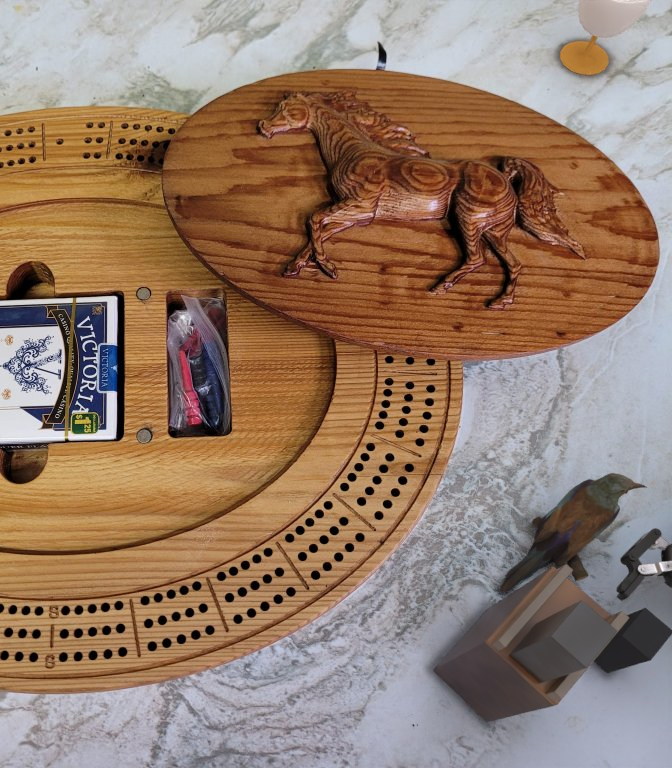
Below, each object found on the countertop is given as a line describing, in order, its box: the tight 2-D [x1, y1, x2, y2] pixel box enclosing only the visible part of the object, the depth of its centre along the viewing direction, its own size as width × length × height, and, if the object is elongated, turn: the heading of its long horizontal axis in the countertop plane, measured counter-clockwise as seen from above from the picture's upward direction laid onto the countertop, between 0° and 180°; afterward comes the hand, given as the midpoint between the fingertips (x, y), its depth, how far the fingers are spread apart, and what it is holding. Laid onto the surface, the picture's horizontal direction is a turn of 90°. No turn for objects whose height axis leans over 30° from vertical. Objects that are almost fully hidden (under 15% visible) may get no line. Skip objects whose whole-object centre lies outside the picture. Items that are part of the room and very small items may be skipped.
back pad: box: [593, 607, 672, 674], centre depth 106 cm, size 4×5×12 cm
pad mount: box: [485, 563, 629, 707], centre depth 85 cm, size 9×12×13 cm
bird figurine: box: [498, 472, 648, 594], centre depth 112 cm, size 13×10×20 cm
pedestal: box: [432, 568, 554, 723], centre depth 101 cm, size 9×12×23 cm
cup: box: [559, 0, 653, 76], centre depth 152 cm, size 12×12×17 cm
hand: (651, 623), depth 103 cm, fingers open, 8 cm apart
